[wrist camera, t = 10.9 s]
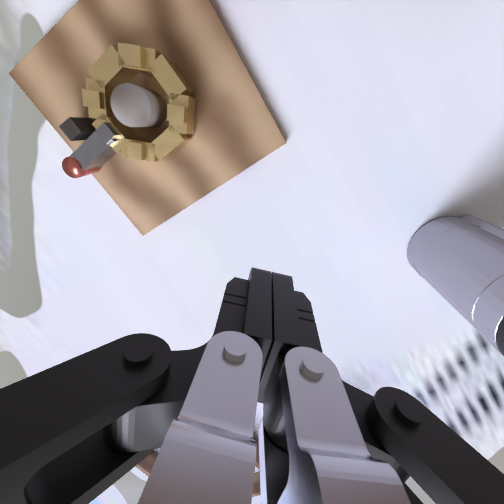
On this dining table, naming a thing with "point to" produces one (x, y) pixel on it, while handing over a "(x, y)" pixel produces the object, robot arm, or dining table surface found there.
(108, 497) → the dining table surface
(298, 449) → the robot arm
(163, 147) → the gold ring with lever
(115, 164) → the jig board
